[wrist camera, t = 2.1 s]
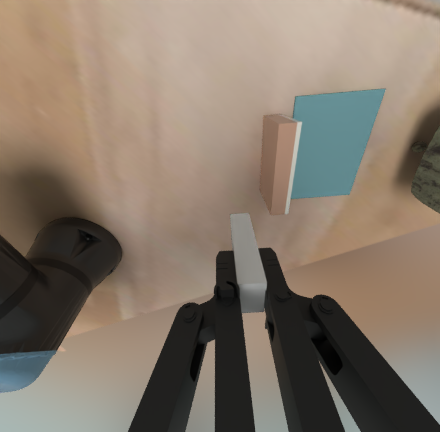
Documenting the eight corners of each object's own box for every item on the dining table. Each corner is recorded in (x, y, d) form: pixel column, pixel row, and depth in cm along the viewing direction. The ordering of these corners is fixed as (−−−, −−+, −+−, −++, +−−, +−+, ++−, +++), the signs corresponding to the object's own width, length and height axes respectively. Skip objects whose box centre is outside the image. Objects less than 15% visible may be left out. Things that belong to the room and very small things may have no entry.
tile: (259, 190, 34) (270, 215, 27) (263, 115, 27) (279, 123, 21) (273, 189, 34) (288, 213, 27) (280, 113, 27) (302, 121, 21)
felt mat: (282, 198, 35) (283, 199, 35) (295, 96, 26) (296, 96, 26) (348, 193, 35) (349, 194, 34) (384, 88, 26) (385, 88, 25)
